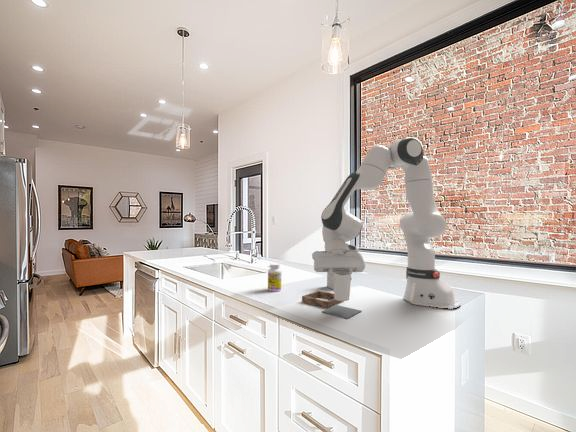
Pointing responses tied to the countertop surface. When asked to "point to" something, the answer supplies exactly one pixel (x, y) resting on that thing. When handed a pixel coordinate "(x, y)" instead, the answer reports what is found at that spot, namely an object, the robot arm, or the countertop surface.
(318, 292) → the walnut tray
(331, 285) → the supplement box
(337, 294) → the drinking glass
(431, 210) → the robot arm
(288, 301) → the countertop surface
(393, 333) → the countertop surface
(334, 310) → the charcoal mat
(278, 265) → the supplement bottle
